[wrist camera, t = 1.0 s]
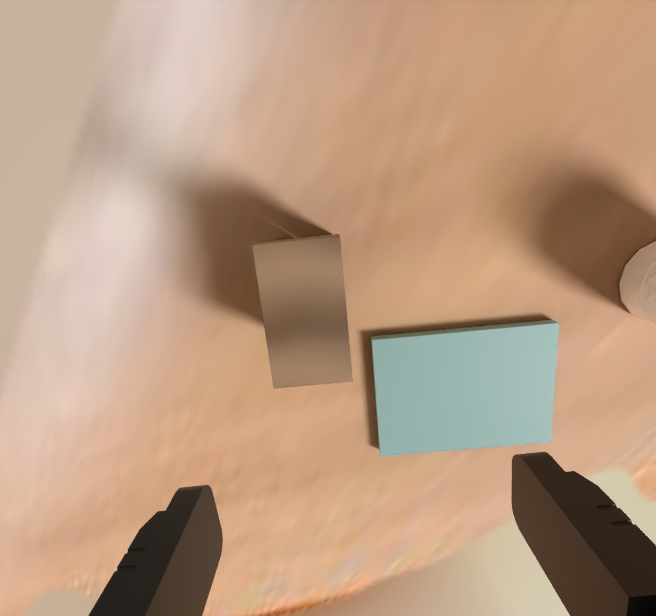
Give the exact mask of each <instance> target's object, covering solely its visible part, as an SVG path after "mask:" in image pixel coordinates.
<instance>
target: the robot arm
mask: <svg viewBox="0 0 656 616" xmlns="http://www.w3.org/2000/svg"><path fill="white" fill-rule="evenodd" d="M512 509H513V514H514V517H515V520H516V523H517V525H518V527H519V530H520V531H521V533H522V535H523V537H524V538H525V540H526V542H527V543H528V545H529V547H530V548H531V550H532V552H533V554H534V555H535V556H536V559H537V560H538V562H539V564H540V565H541V567H542V569H543V570H544V572H545V574H546V575H547V577H548V579H549V580H550V582H551V584H552V586H553V587H554V589H555V591H556V592H557V594H558V596H559V597H560V599H561V601H562V603H563V604H564V606H565V607H566V609H567V611H568V613H569V614H570V616H656V546H655V544H654V543H653V542H652V541H651V540H650V539H649V538H648V537H647V536H646V535H645V534H644V533H643V532H642V531H641V530H640V529H639V528H638V527H637V526H636V525H633V524H632V522H631V519H630V518H629V517H628V516H627V515H626V514H625V513H624V512H623V511H622V510H621V509H620V508H617V507H616V504H615V503H614V502H613V501H612V500H611V499H610V498H609V497H608V496H607V495H606V494H605V493H604V492H603V491H602V490H601V489H600V488H599V487H598V486H597V485H596V484H594V483H593V482H591V481H589V480H588V479H586V478H584V477H583V476H581V475H580V474H578V473H576V472H575V471H571V472H565V471H564V470H563V469H562V468H561V467H560V466H559V464H558V463H557V462H556V461H555V460H554V459H553V458H552V457H551V456H550V455H549V454H548V453H546V452H537V453H527V454H517V455H514V456H513V459H512ZM222 541H223V538H222V529H221V525H220V521H219V517H218V513H217V509H216V505H215V501H214V497H213V493H212V489H211V487H210V486H209V485H202V486H193V487H183V488H179V489H178V490H177V491H176V493H175V495H174V496H173V498H172V500H171V502H170V504H169V506H168V507H167V509H166V511H158V512H157V513H156V514H155V515H154V516H153V517H152V518H151V519H150V520H149V521H148V522H147V523H146V524H145V525H144V526H143V527H142V528H141V529H140V530H139V532H138V533H137V535H136V537H135V538H134V540H133V542H132V543H131V545H130V547H129V548H128V553H127V554H125V555H124V557H123V559H122V560H121V562H120V564H119V565H118V569H117V571H116V572H114V574H113V575H112V577H111V579H110V580H109V582H108V584H107V585H106V587H105V589H104V591H103V592H102V594H101V596H100V597H99V599H98V601H97V602H96V604H95V606H94V608H93V609H92V611H91V613H90V614H89V616H202V614H203V611H204V608H205V605H206V601H207V598H208V595H209V592H210V589H211V586H212V582H213V579H214V576H215V573H216V570H217V566H218V563H219V560H220V557H221V552H222Z"/></svg>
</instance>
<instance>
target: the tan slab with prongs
mask: <svg viewBox="0 0 656 616" xmlns="http://www.w3.org/2000/svg"><path fill="white" fill-rule="evenodd" d="M252 248H253V255H254V261H255V268H256V275H257V281H258V288H259V294H260V301H261V308H262V314H263V321H264V327H265V334H266V341H267V347H268V354H269V360H270V367H271V374H272V380H273V387H274V388H285V387H297V386H308V385H319V384H330V383H341V382H353V379H352V367H351V356H350V345H349V334H348V323H347V312H346V300H345V289H344V278H343V267H342V256H341V245H340V236H339V234H335V235H332V234H326V235H317V236H315V237H305V238H295V239H294V238H287V239H278V240H275V241H265V242H258V243H256V244H253V245H252Z"/></svg>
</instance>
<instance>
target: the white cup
mask: <svg viewBox="0 0 656 616" xmlns="http://www.w3.org/2000/svg"><path fill="white" fill-rule="evenodd" d="M619 287H620V295H621V301H622V303H623V304H624V305H625V307H626V308H627V309H628V310H629V312H630V313H631V314H632V315H634V316H637V317H639V318H642V319H644V320H647V321H650V322H652V323H654V324H656V241H654V242H652V243H651V244H649V245H647V246H645V247H643V248H641V249H639V250H638V252H637V253H636V254H635V255H634V256H633V257H632V258H631V260H630V261H629V262H628V263H627V264H626V265H625V268H624V271H623V274H622V277H621V280H620V282H619Z"/></svg>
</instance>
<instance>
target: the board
mask: <svg viewBox="0 0 656 616" xmlns="http://www.w3.org/2000/svg"><path fill="white" fill-rule="evenodd" d="M558 333H559V323H558V322H556V321H554V320H552V319H551V320H540V321H529V322H519V323H508V324H497V325H486V326H475V327H465V328H454V329H443V330H432V331H421V332H411V333H400V334H389V335H378V336H371V349H372V362H373V376H374V390H375V403H376V417H377V431H378V444H379V452H380V456H391V455H403V454H415V453H428V452H440V451H452V450H464V449H476V448H488V447H500V446H512V445H524V444H536V443H548V442H551V437H552V422H553V407H554V392H555V378H556V363H557V348H558Z"/></svg>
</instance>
